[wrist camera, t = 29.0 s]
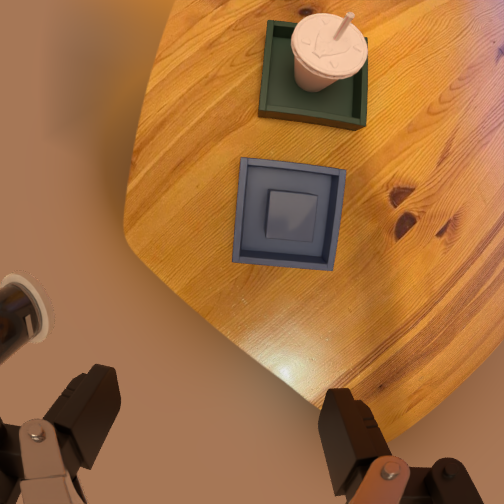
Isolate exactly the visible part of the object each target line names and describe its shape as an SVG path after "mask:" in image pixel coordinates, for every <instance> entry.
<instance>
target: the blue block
mask: <svg viewBox="0 0 504 504" xmlns="http://www.w3.org/2000/svg"><path fill="white" fill-rule="evenodd" d="M317 202H318V195H314V194H311V193H305V192H296V191H287V190H278V189H268V194H267V204H266V215H265V225H264V232H265V238H269V239H279V240H290V241H300V242H311V243H312V242H313V235H314V227H315V219H316V211H317Z"/></svg>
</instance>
